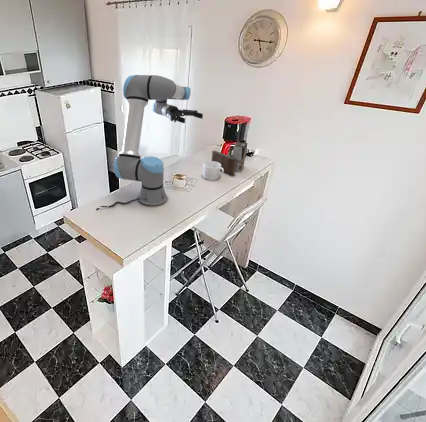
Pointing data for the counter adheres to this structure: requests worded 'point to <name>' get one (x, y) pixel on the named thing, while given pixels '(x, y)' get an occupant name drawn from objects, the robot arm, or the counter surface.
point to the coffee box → (239, 155)
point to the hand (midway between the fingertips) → (193, 118)
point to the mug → (212, 170)
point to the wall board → (225, 162)
